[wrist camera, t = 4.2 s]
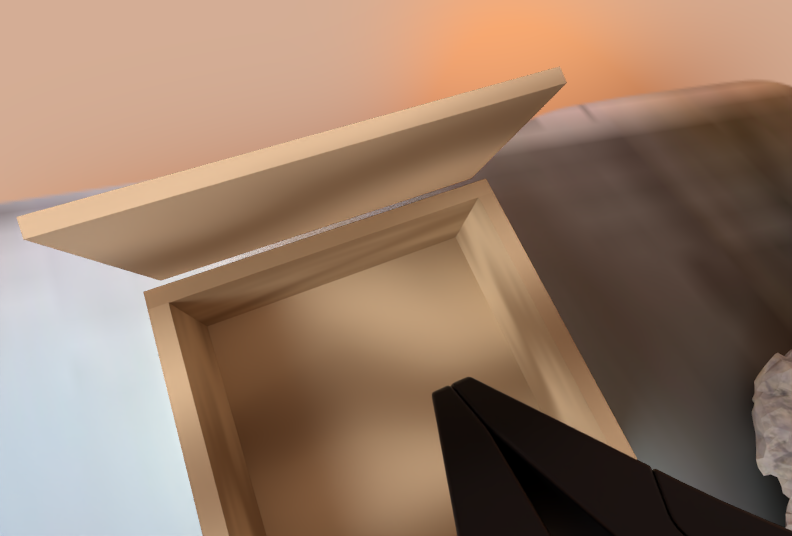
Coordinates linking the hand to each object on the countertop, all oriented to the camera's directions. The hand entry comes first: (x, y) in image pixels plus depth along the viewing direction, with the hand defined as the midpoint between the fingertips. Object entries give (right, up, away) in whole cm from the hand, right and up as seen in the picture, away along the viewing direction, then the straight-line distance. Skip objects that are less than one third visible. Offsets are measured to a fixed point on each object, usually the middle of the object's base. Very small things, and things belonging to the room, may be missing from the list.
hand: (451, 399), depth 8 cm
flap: (-3, +4, +3) cm, 6 cm away
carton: (-1, -3, +8) cm, 8 cm away
